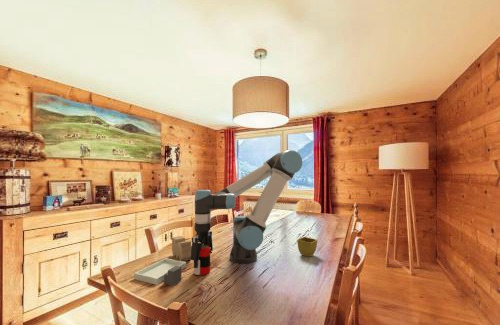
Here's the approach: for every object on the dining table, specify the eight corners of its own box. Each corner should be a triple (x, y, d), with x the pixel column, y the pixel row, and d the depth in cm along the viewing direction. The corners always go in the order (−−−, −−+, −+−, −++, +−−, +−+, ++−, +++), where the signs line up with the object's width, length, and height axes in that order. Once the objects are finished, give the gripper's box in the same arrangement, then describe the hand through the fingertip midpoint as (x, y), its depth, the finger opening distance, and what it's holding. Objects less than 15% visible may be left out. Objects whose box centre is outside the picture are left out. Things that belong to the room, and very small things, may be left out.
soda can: (192, 270, 110) (193, 245, 110) (208, 267, 113) (208, 243, 113) (195, 276, 103) (195, 250, 103) (211, 274, 106) (211, 248, 106)
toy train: (182, 263, 117) (183, 244, 118) (171, 254, 131) (171, 236, 131) (192, 261, 121) (193, 242, 121) (180, 252, 134) (180, 235, 135)
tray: (186, 267, 113) (186, 262, 113) (156, 284, 95) (156, 278, 95) (165, 262, 118) (165, 258, 118) (134, 278, 100) (134, 273, 101)
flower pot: (318, 255, 131) (317, 239, 131) (310, 259, 124) (310, 243, 125) (304, 251, 137) (304, 236, 137) (296, 255, 130) (296, 239, 131)
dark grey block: (181, 280, 99) (181, 266, 100) (173, 286, 95) (173, 271, 95) (172, 278, 101) (172, 265, 101) (163, 283, 97) (164, 269, 97)
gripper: (207, 217, 119) (207, 261, 119) (182, 226, 101) (181, 278, 100) (220, 218, 117) (219, 263, 116) (196, 227, 98) (195, 281, 97)
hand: (202, 270), depth 108 cm, fingers closed on soda can, 8 cm apart
